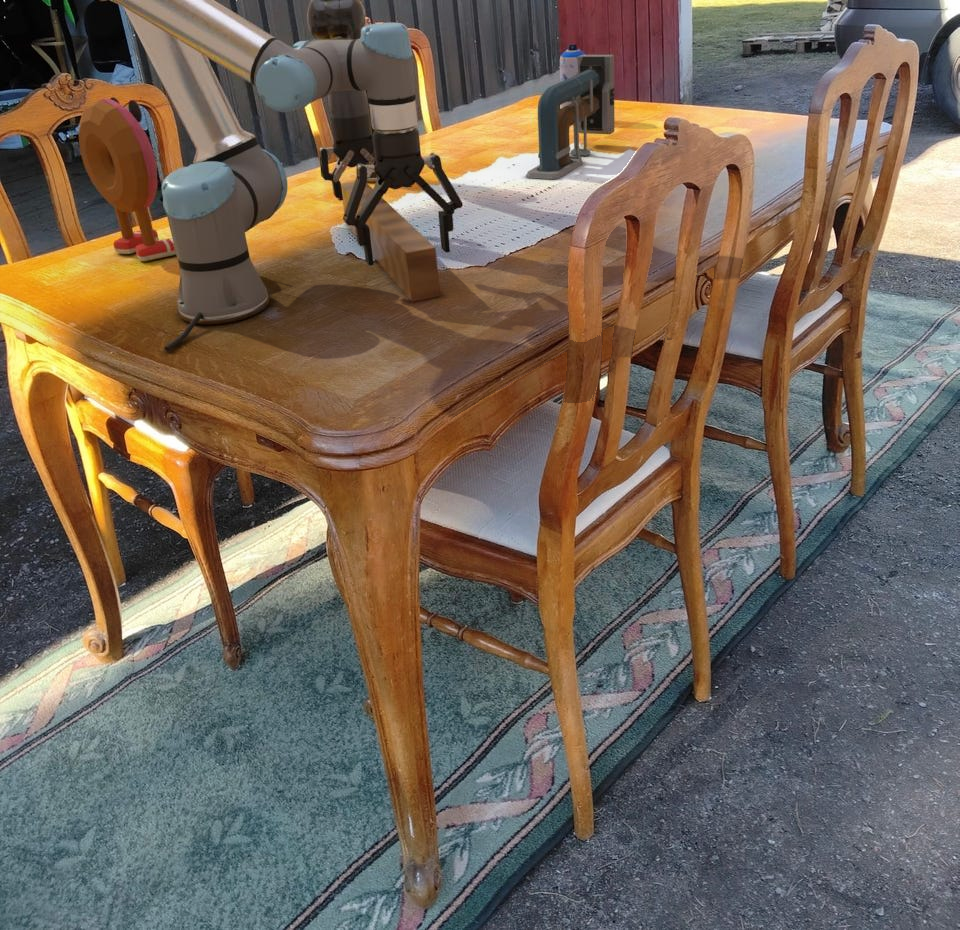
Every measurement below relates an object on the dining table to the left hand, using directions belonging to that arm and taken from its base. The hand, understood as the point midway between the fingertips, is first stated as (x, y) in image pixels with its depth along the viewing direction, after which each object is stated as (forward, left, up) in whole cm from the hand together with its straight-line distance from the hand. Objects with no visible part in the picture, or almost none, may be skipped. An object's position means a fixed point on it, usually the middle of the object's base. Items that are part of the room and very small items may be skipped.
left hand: (408, 256), depth 166 cm
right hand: (+29, +21, +2) cm, 35 cm away
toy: (+14, +62, -5) cm, 64 cm away
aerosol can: (+134, -1, -5) cm, 134 cm away
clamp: (+88, -10, -5) cm, 88 cm away
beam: (+15, +10, -5) cm, 19 cm away
